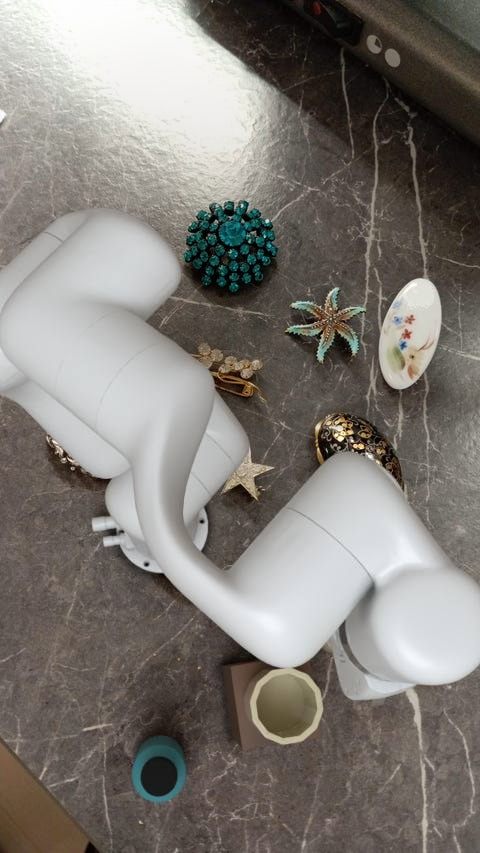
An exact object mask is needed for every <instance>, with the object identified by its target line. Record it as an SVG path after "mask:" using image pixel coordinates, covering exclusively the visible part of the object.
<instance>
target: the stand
mask: <svg viewBox="0 0 480 853" xmlns="http://www.w3.org/2000/svg"><path fill="white" fill-rule="evenodd" d="M269 668H276V666H272V665H270V664H268V663H265V662H264V661H262V660H260V659H255V660H249V661H243V662H236V663H229V664H222V666H221V669H222V677H223V683H224V690H225V698H226V705H227V713H228V719H229V727H230V734H231V737H232V738H233V739H234V741H235V742H236V744H237V745H238V747H240V749H241V750H242V751H247V750H253V749H259V748H267V747H271V746H278V745H281V744H280V743H278V742H275V741H273V740H270V739H268V738H265V737H264V736H263V735H262V734H261V733H260V732H259V731H257V730H256V729H255V727H254V726H253V725H252V723H251V722H250V721H249V719H248V718H247V717H246V714H245V707H244V700H243V698H244V694H245V691H246V689H247V686H248V683H249V681H250V680H251V679H252V678H253V677H254V676H256V675H257V674H258V673H259V672H260V671H262V670H263V669H269ZM312 668H313V667H312V662H311V659H310V660H309V661H307V662H305V663H304V664H302V665H300V666H297V667H293V669H296V670H298V671H301V672H303V673H306V674H308V675H309V676H310V678H311V679H312V680H313V681H314V682H315V680H314V673H313V669H312ZM323 735H324V734H323V728H322V724H321V720H320V721H319V724H318V727H317V728H316V730H315V731H314V732H313V733H311V734H310V735H309V736H308V737H307V738H306V739H304V740H303V741H308V740H314V739H320V738H323Z"/></svg>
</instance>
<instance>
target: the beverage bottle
mask: <svg viewBox="0 0 480 853" xmlns="http://www.w3.org/2000/svg"><path fill="white" fill-rule="evenodd" d="M136 752H137V753H136V754H135V757H134V758H133V762H132V767H131V781H132V784H133V787H134V789H135V791H136V792H137V793H138V794H139V796H141V798H143V799H144V800H146V801H149V802H151V803H166V802H169V801H170V800H172V799H174V798H175V797H176V796H178V794H179V793H180V792H182V789H183V788H184V786H185V783H186V780H187V773H188V772H187V763H186V757H185V751H184V748H183V747H182V744H181V743H180V742H178V740H176V739H175V737H171V736H168V735H156V734H154V735H153V736H150V737H147V739H145V740H143V742H142V743H141V745H140V746H139V747H137V751H136Z"/></svg>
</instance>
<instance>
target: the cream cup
mask: <svg viewBox="0 0 480 853" xmlns="http://www.w3.org/2000/svg"><path fill="white" fill-rule="evenodd" d="M243 700H244V707H245V714H246V717H247V718H248V719H249V721H250V722H251V723H252V725H253V726H254V727H255V729H256V730H257V731H259V732H260V733H261V734H262V735H263V736H264V737H265V738H268V739H270V740H273V741H275V742H278V743H280V744H279V745H289V744H294V743H302V742H303V741H305V740H304V739H306V738H307V737H308V736H309V735H310V734H311V733H313V732H314V731H315V730H316V728H317V727H318V724H319V721H320V722H321V718H322V715H323V713H324V705H323V698H322V692H321V689H320V688H319V686H318V685H317V684H316V683H315V680H314V681H313V680H312V679H311V678H310V676H309V675H308V674H306V673H303V672H301V671H298V670H296V669H293V668H280V667H276V668H269V669H263V670H262V671H260V672H259V673H258V674H257V675H256V676H254V677H253V678H252V679H251V680H250V681H249V683H248V686H247V689H246V691H245V694H244V698H243Z"/></svg>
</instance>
